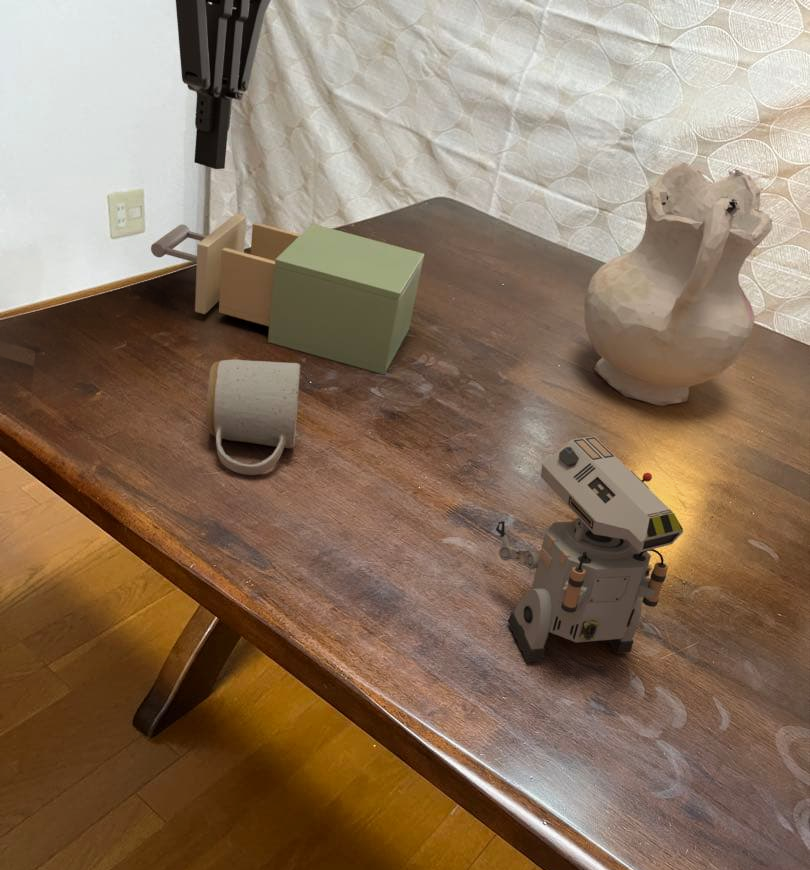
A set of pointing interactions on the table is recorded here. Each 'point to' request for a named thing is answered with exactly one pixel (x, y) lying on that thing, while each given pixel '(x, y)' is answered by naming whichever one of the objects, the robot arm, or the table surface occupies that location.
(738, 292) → the ceramic pitcher
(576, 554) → the figurine
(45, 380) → the table surface
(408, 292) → the cabinet
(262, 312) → the drawer
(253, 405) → the ceramic mug
